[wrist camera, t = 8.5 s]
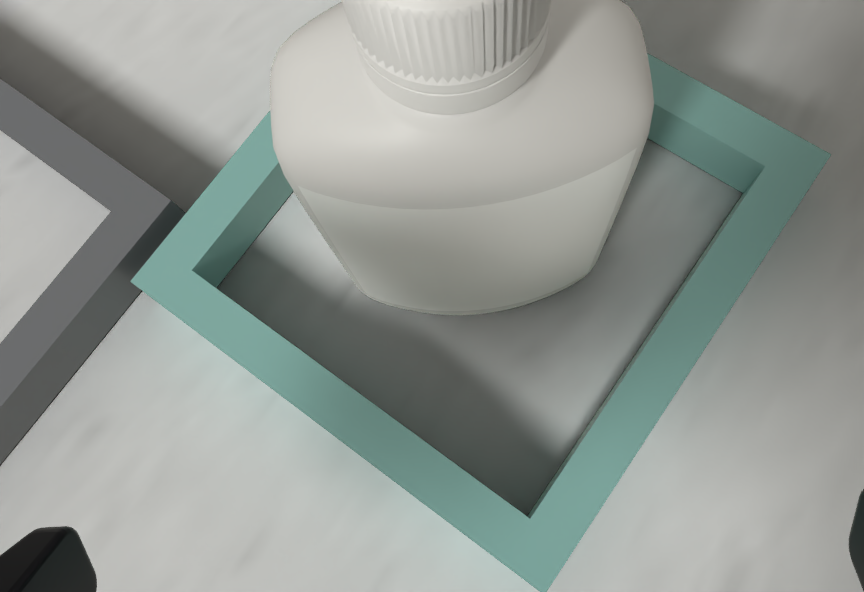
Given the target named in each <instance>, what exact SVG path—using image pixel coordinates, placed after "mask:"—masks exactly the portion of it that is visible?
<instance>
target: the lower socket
mask: <svg viewBox="0 0 864 592" xmlns="http://www.w3.org/2000/svg"><path fill="white" fill-rule="evenodd" d="M647 55H648V61H649V67H650V73H651V79H652V87H653V97H654V108H653V113H652V119H651V125H650V130H649V135H648V137H647V138H648V139H650V140H652V141H654V142H655V143H657V144H659V145H661V146H662V147H664V148H666V149H667V150H669V151H671V152H673V153H674V154H676V155H678V156H680V157H681V158H683V159H685V160H686V161H688V162H690V163H692V164H693V165H695V166H697V167H699V168H700V169H702V170H704V171H705V172H707V173H709V174H711V175H712V176H714V177H716V178H718V179H719V180H721V181H723V182H724V183H726V184H728V185H730V186H731V187H733V188H735V189H737V190H738V191H740V192H742V193H743V194H742V196H741V197H740V199H739V200H738V202H737V203H736V205H735V206H734V208H733V209H732V211H731V212H730V214H729V215H728V217H727V218H726V220H725V221H724V223H723V224H722V226H721V227H720V229H719V230H718V232H717V233H716V235H715V236H714V238H713V239H712V241H711V242H710V244H709V245H708V247H707V248H706V250H705V251H704V253H703V254H702V256H701V257H700V259H699V260H698V262H697V263H696V265H695V266H694V268H693V269H692V271H691V272H690V274H689V275H688V277H687V278H686V280H685V281H684V283H683V284H682V286H681V287H680V289H679V290H678V292H677V293H676V295H675V296H674V298H673V299H672V301H671V302H670V304H669V305H668V307H667V308H666V310H665V311H664V313H663V314H662V316H661V317H660V319H659V320H658V322H657V323H656V325H655V326H654V328H653V329H652V331H651V332H650V334H649V335H648V337H647V338H646V340H645V341H644V343H643V344H642V346H641V347H640V349H639V350H638V352H637V353H636V354H635V356H634V357H633V359H632V360H631V362H630V363H629V365H628V366H627V368H626V369H625V371H624V372H623V374H622V375H621V377H620V378H619V380H618V381H617V383H616V384H615V386H614V387H613V389H612V390H611V392H610V393H609V395H608V396H607V398H606V399H605V401H604V402H603V404H602V405H601V407H600V408H599V410H598V411H597V413H596V414H595V416H594V417H593V419H592V420H591V422H590V423H589V425H588V426H587V428H586V429H585V431H584V432H583V434H582V435H581V437H580V438H579V440H578V441H577V443H576V444H575V446H574V447H573V449H572V450H571V452H570V453H569V455H568V456H567V458H566V459H565V461H564V462H563V464H562V465H561V467H560V468H559V470H558V471H557V473H556V474H555V476H554V477H553V479H552V480H551V482H550V483H549V485H548V486H547V488H546V489H545V491H544V492H543V494H542V495H541V497H540V498H539V500H538V501H537V503H536V504H535V506H534V507H533V509H532V510H531V512H530V513H529V515H528V516H526V515H524V514H523V513H522V512H520V511H519V510H518V509H516V508H515V507H514V506H512V505H511V504H509V503H508V502H507V501H505V500H504V499H503V498H501V497H500V496H499V495H497V494H496V493H495V492H493V491H492V490H490V489H489V488H488V487H486V486H485V485H484V484H482V483H481V482H480V481H478V480H477V479H475V478H474V477H473V476H471V475H470V474H469V473H467V472H466V471H465V470H463V469H462V468H460V467H459V466H458V465H456V464H455V463H454V462H452V461H451V460H450V459H448V458H447V457H445V456H444V455H443V454H441V453H440V452H439V451H437V450H436V449H435V448H433V447H432V446H430V445H429V444H428V443H426V442H425V441H424V440H422V439H421V438H420V437H418V436H417V435H415V434H414V433H413V432H411V431H410V430H409V429H407V428H406V427H405V426H403V425H402V424H401V423H399V422H398V421H396V420H395V419H394V418H392V417H391V416H390V415H388V414H387V413H386V412H384V411H383V410H381V409H380V408H379V407H377V406H376V405H375V404H373V403H372V402H371V401H369V400H368V399H366V398H365V397H364V396H362V395H361V394H360V393H358V392H357V391H356V390H354V389H353V388H351V387H350V386H349V385H347V384H346V383H345V382H343V381H342V380H341V379H339V378H338V377H336V376H335V375H334V374H332V373H331V372H330V371H328V370H327V369H326V368H324V367H323V366H322V365H320V364H319V363H317V362H316V361H315V360H313V359H312V358H311V357H309V356H308V355H307V354H305V353H304V352H302V351H301V350H300V349H298V348H297V347H296V346H294V345H293V344H292V343H290V342H289V341H287V340H286V339H285V338H283V337H282V336H281V335H279V334H278V333H277V332H275V331H274V330H272V329H271V328H270V327H268V326H267V325H266V324H264V323H263V322H262V321H260V320H259V319H257V318H256V317H255V316H253V315H252V314H251V313H249V312H248V311H247V310H245V309H244V308H242V307H241V306H240V305H238V304H237V303H236V302H234V301H233V300H232V299H230V298H229V297H228V296H226V295H225V294H223V293H222V292H221V291H219V290H218V289H217V287H218V285H219V284H220V283H221V282H222V280H223V279H224V278H225V276H226V275H227V274H228V273H229V271H230V270H231V269H232V268H233V266H234V265H235V264H236V263H237V261H238V260H239V259H240V258H241V256H242V255H243V254H244V253H245V251H246V250H247V249H248V247H249V246H250V245H251V244H252V242H253V241H254V240H255V239H256V237H257V236H258V235H259V234H260V232H261V231H262V230H263V229H264V227H265V226H266V225H267V224H268V222H269V221H270V220H271V218H272V217H273V216H274V215H275V213H276V212H277V211H278V210H279V208H280V207H281V206H282V205H283V203H284V202H285V201H286V200H287V198H288V197H289V196H290V195H291V193H292V192H293V189H292V188H291V186H290V184H289V183H288V181H287V179H286V178H285V176H284V174H283V171H282V169H281V166H280V164H279V161H278V159H277V156H276V153H275V151H274V148H273V140H272V130H271V112H270V111H269V112H268V114H267V115H266V116H265V117H264V118H263V120H262V121H261V122H260V123H259V125H258V126H257V127H256V128H255V129H254V131H253V132H252V133H251V134H250V136H249V137H248V138H247V139H246V140H245V142H244V143H243V144H242V145H241V147H240V148H239V149H238V150H237V151H236V153H235V154H234V155H233V156H232V158H231V159H230V160H229V161H228V162H227V164H226V165H225V166H224V167H223V169H222V170H221V171H220V172H219V173H218V175H217V176H216V177H215V178H214V180H213V181H212V182H211V183H210V184H209V186H208V187H207V188H206V189H205V191H204V192H203V193H202V194H201V195H200V197H199V198H198V199H197V200H196V202H195V203H194V204H193V205H192V206H191V208H190V209H189V210H188V211H187V213H186V214H185V215H184V216H183V217H182V219H181V220H180V221H179V222H178V224H177V225H176V226H175V227H174V228H173V230H172V231H171V232H170V233H169V235H168V236H167V237H166V238H165V239H164V241H163V242H162V243H161V244H160V246H159V247H158V248H157V249H156V251H155V252H154V253H153V254H152V255H151V257H150V258H149V259H148V260H147V262H146V263H145V264H144V265H143V266H142V268H141V269H140V270H139V271H138V273H137V274H136V275H135V276H134V277H133V279H132V280H131V281H130V282H131V283H133V284H134V285H135V286H137V287H138V288H139V289H141V290H142V291H143V292H145V293H146V294H147V295H149V296H150V297H151V298H153V299H154V300H155V301H157V302H158V303H159V304H161V305H162V306H163V307H164V308H166V309H167V310H168V311H170V312H171V313H172V314H174V315H175V316H176V317H178V318H179V319H180V320H182V321H183V322H184V323H186V324H187V325H188V326H190V327H191V328H192V329H194V330H195V331H196V332H198V333H199V334H200V335H201V336H203V337H204V338H205V339H207V340H208V341H209V342H211V343H212V344H213V345H215V346H216V347H217V348H219V349H220V350H221V351H223V352H224V353H225V354H227V355H228V356H229V357H231V358H232V359H233V360H235V361H236V362H237V363H238V364H240V365H241V366H242V367H244V368H245V369H246V370H248V371H249V372H250V373H252V374H253V375H254V376H256V377H257V378H258V379H260V380H261V381H262V382H264V383H265V384H266V385H268V386H269V387H270V388H272V389H273V390H274V391H275V392H277V393H278V394H279V395H281V396H282V397H283V398H285V399H286V400H287V401H289V402H290V403H291V404H293V405H294V406H295V407H297V408H298V409H299V410H301V411H302V412H303V413H305V414H306V415H307V416H309V417H310V418H311V419H312V420H314V421H315V422H316V423H318V424H319V425H320V426H322V427H323V428H324V429H326V430H327V431H328V432H330V433H331V434H332V435H334V436H335V437H336V438H338V439H339V440H340V441H342V442H343V443H344V444H346V445H347V446H348V447H349V448H351V449H352V450H353V451H355V452H356V453H357V454H359V455H360V456H361V457H363V458H364V459H365V460H367V461H368V462H369V463H371V464H372V465H373V466H375V467H376V468H377V469H379V470H380V471H381V472H383V473H384V474H385V475H386V476H388V477H389V478H390V479H392V480H393V481H394V482H396V483H397V484H398V485H400V486H401V487H402V488H404V489H405V490H406V491H408V492H409V493H410V494H412V495H413V496H414V497H416V498H417V499H418V500H420V501H421V502H422V503H423V504H425V505H426V506H427V507H429V508H430V509H431V510H433V511H434V512H435V513H437V514H438V515H439V516H441V517H442V518H443V519H445V520H446V521H447V522H449V523H450V524H451V525H453V526H454V527H455V528H457V529H458V530H459V531H460V532H462V533H463V534H464V535H466V536H467V537H468V538H470V539H471V540H472V541H474V542H475V543H476V544H478V545H479V546H480V547H482V548H483V549H484V550H486V551H487V552H488V553H490V554H491V555H492V556H494V557H495V558H496V559H497V560H499V561H500V562H501V563H503V564H504V565H505V566H507V567H508V568H509V569H511V570H512V571H513V572H515V573H516V574H517V575H519V576H520V577H521V578H523V579H524V580H525V581H527V582H528V583H529V584H531V585H532V586H533V587H535V588H536V589H537V590H538V591H540V592H547V590H548V589H549V587H550V586H551V584H552V583H553V581H554V580H555V578H556V576H557V575H558V573H559V572H560V570H561V569H562V567H563V566H564V564H565V563H566V561H567V560H568V558H569V556H570V555H571V553H572V552H573V550H574V549H575V547H576V546H577V544H578V543H579V541H580V540H581V538H582V537H583V535H584V533H585V532H586V530H587V529H588V527H589V526H590V524H591V523H592V521H593V520H594V518H595V517H596V515H597V514H598V512H599V510H600V509H601V507H602V506H603V504H604V503H605V501H606V500H607V498H608V497H609V495H610V494H611V492H612V490H613V489H614V487H615V486H616V484H617V483H618V481H619V480H620V478H621V477H622V475H623V474H624V472H625V471H626V469H627V467H628V466H629V464H630V463H631V461H632V460H633V458H634V457H635V455H636V454H637V452H638V451H639V449H640V447H641V446H642V444H643V443H644V441H645V440H646V438H647V437H648V435H649V434H650V432H651V431H652V429H653V428H654V426H655V424H656V423H657V421H658V420H659V418H660V417H661V415H662V414H663V412H664V411H665V409H666V408H667V406H668V404H669V403H670V401H671V400H672V398H673V397H674V395H675V394H676V392H677V391H678V389H679V388H680V386H681V385H682V383H683V381H684V380H685V378H686V377H687V375H688V374H689V372H690V371H691V369H692V368H693V366H694V365H695V363H696V361H697V360H698V358H699V357H700V355H701V354H702V352H703V351H704V349H705V348H706V346H707V345H708V343H709V342H710V340H711V338H712V337H713V335H714V334H715V332H716V331H717V329H718V328H719V326H720V325H721V323H722V322H723V320H724V318H725V317H726V315H727V314H728V312H729V311H730V309H731V308H732V306H733V305H734V303H735V302H736V300H737V299H738V297H739V295H740V294H741V292H742V291H743V289H744V288H745V286H746V285H747V283H748V282H749V280H750V279H751V277H752V275H753V274H754V272H755V271H756V269H757V268H758V266H759V265H760V263H761V262H762V260H763V259H764V257H765V256H766V254H767V252H768V251H769V249H770V248H771V246H772V245H773V243H774V242H775V240H776V239H777V237H778V236H779V234H780V232H781V231H782V229H783V228H784V226H785V225H786V223H787V222H788V220H789V219H790V217H791V216H792V214H793V213H794V211H795V209H796V208H797V206H798V205H799V203H800V202H801V200H802V199H803V197H804V196H805V194H806V193H807V191H808V190H809V188H810V186H811V185H812V183H813V182H814V180H815V179H816V177H817V176H818V174H819V173H820V171H821V170H822V168H823V166H824V165H825V163H826V162H827V160H828V159H829V157H830V156H831V154H830V153H828V152H826V151H824V150H822V149H820V148H819V147H817V146H815V145H813V144H811V143H810V142H808V141H806V140H804V139H802V138H801V137H799V136H797V135H795V134H793V133H791V132H790V131H788V130H786V129H784V128H782V127H781V126H779V125H777V124H775V123H773V122H771V121H770V120H768V119H766V118H764V117H762V116H761V115H759V114H757V113H755V112H753V111H751V110H750V109H748V108H746V107H744V106H742V105H741V104H739V103H737V102H735V101H733V100H732V99H730V98H728V97H726V96H724V95H722V94H721V93H719V92H717V91H715V90H713V89H712V88H710V87H708V86H706V85H704V84H702V83H701V82H699V81H697V80H695V79H693V78H692V77H690V76H688V75H686V74H684V73H683V72H681V71H679V70H677V69H675V68H673V67H672V66H670V65H668V64H666V63H664V62H663V61H661V60H659V59H657V58H655V57H653V56H652V55H650V54H648V53H647Z"/></svg>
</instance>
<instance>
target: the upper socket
mask: <svg viewBox="0 0 864 592" xmlns="http://www.w3.org/2000/svg"><path fill="white" fill-rule="evenodd" d="M0 130H1V131H3V132H4V133H5V134H7V135H8V136H9V137H11V138H12V139H13V140H15V141H16V142H18V143H19V144H20V145H22V146H23V147H24V148H26V149H27V150H28V151H30V152H31V153H33V154H34V155H35V156H37V157H38V158H39V159H41V160H42V161H43V162H45V163H46V164H48V165H49V166H50V167H52V168H53V169H54V170H56V171H57V172H58V173H60V174H61V175H62V176H64V177H65V178H67V179H68V180H69V181H71V182H72V183H73V184H75V185H76V186H77V187H79V188H80V189H82V190H83V191H84V192H86V193H87V194H88V195H90V196H91V197H92V198H94V199H95V200H97V201H98V202H99V203H101V204H102V205H103V206H105V207H106V208H107V209H109V210H110V211H111V212H110V214H109V215H108V216H107V217H106V218H105V219H104V221H103V222H102V223H101V224H100V225H99V227H98V228H97V229H96V230H95V231H94V233H93V234H92V235H91V236H90V237H89V239H88V240H87V241H86V242H85V243H84V245H83V246H82V247H81V248H80V249H79V250H78V252H77V253H76V254H75V255H74V256H73V258H72V259H71V260H70V261H69V262H68V264H67V265H66V266H65V267H64V268H63V270H62V271H61V272H60V273H59V274H58V276H57V277H56V278H55V279H54V280H53V281H52V283H51V284H50V285H49V286H48V287H47V289H46V290H45V291H44V292H43V293H42V295H41V296H40V297H39V298H38V299H37V301H36V302H35V303H34V304H33V305H32V307H31V308H30V309H29V310H28V311H27V313H26V314H25V315H24V316H23V317H22V318H21V320H20V321H19V322H18V323H17V324H16V326H15V327H14V328H13V329H12V330H11V332H10V333H9V334H8V335H7V336H6V338H5V339H4V340H3V341H2V342H1V344H0V464H1V463H2V462H3V461H4V459H5V458H6V457H7V456H8V455H9V453H10V452H11V451H12V450H13V448H14V447H15V446H16V445H17V443H18V442H19V441H20V440H21V439H22V437H23V436H24V435H25V434H26V432H27V431H28V430H29V429H30V427H31V426H32V425H33V424H34V423H35V421H36V420H37V419H38V418H39V416H40V415H41V414H42V413H43V411H44V410H45V409H46V408H47V407H48V405H49V404H50V403H51V402H52V400H53V399H54V398H55V397H56V395H57V394H58V393H59V392H60V391H61V389H62V388H63V387H64V386H65V384H66V383H67V382H68V381H69V379H70V378H71V377H72V376H73V375H74V373H75V372H76V371H77V370H78V368H79V367H80V366H81V365H82V363H83V362H84V361H85V360H86V359H87V357H88V356H89V355H90V354H91V352H92V351H93V350H94V349H95V347H96V346H97V345H98V344H99V343H100V341H101V340H102V339H103V338H104V336H105V335H106V334H107V333H108V331H109V330H110V329H111V328H112V327H113V325H114V324H115V323H116V322H117V320H118V319H119V318H120V317H121V315H122V314H123V313H124V312H125V311H126V309H127V308H128V307H129V306H130V304H131V303H132V302H133V301H134V299H135V298H136V297H137V296H138V295H139V293H140V292H141V291H142V290H141V289H139V288H138V287H137V286H135V285H134V284H133V283H131V282H130V281H131V280H132V279H133V277H134V276H135V275H136V274H137V273H138V271H139V270H140V269H141V268H142V266H143V265H144V264H145V263H146V262H147V260H148V259H149V258H150V257H151V255H152V254H153V253H154V252H155V251H156V249H157V248H158V247H159V246H160V244H161V243H162V242H163V241H164V239H165V238H166V237H167V236H168V235H169V233H170V232H171V231H172V230H173V228H174V227H175V226H176V225H177V224H178V222H179V221H180V220H181V219H182V217H183V216H184V215H185V214H186V213H185V212H184V211H182V210H181V209H180V208H179V207H178V206H177V205H176V204H175V203H174V202H172V201H171V200H170V199H169V198H167V197H166V196H164V195H163V194H162V193H160V192H159V191H157V190H156V189H155V188H153V187H152V186H150V185H149V184H148V183H146V182H145V181H143V180H142V179H141V178H139V177H138V176H136V175H135V174H134V173H132V172H131V171H129V170H128V169H126V168H125V167H124V166H122V165H121V164H119V163H118V162H117V161H115V160H114V159H112V158H111V157H110V156H108V155H107V154H105V153H104V152H103V151H101V150H100V149H98V148H97V147H96V146H94V145H93V144H91V143H90V142H89V141H87V140H86V139H84V138H83V137H82V136H80V135H79V134H77V133H76V132H75V131H73V130H72V129H70V128H69V127H68V126H66V125H65V124H63V123H62V122H61V121H59V120H58V119H56V118H55V117H54V116H52V115H51V114H49V113H48V112H46V111H45V110H44V109H42V108H41V107H39V106H38V105H37V104H35V103H34V102H32V101H31V100H30V99H28V98H27V97H25V96H24V95H23V94H21V93H20V92H18V91H17V90H16V89H14V88H13V87H11V86H10V85H9V84H7V83H6V82H4V81H3V80H2V79H0Z"/></svg>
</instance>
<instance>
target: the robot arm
mask: <svg viewBox="0 0 864 592" xmlns="http://www.w3.org/2000/svg"><path fill="white" fill-rule="evenodd" d="M849 551H850V556H851V559H852V562H853V565H854V568H855V570H856V573H857V575H858V578H859V581H860V583H861V586H862V588H863V591H864V489H863V491H862V492H861V494H860V497H859V500H858V504H857V508H856V512H855V516H854V520H853V524H852V528H851V532H850V536H849ZM96 588H97V579H96V574H95V571H94V568H93V566H92V564H91V562H90V559H89V557H88V555H87V553H86V550H85V548H84V546H83V544H82V541H81V539H80V537H79V535H78V533H77V531H75V530H74V529H73V528H72V527H67V526H65V527H46V528H39V529H36V530H34V531H32V532H31V533H29V534H28V535H26V536H25V537H24V538H23V539H21V540H20V541H19V542H17V543H16V544H15V545H13V546H12V547H11V548H10V549H8V550H7V551H6V552H4V553H3V554H2V555H0V592H96Z"/></svg>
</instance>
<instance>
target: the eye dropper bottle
mask: <svg viewBox="0 0 864 592" xmlns="http://www.w3.org/2000/svg"><path fill="white" fill-rule="evenodd" d="M653 108H654V97H653V87H652V79H651V73H650V67H649V61H648V55H647V50H646V45H645V40H644V37H643V33H642V29H641V26H640V23H639V21H638V20H637V18H636V16H635V15H634V13H633V11H632V10H631V8H630V7H629V6H628V5H626V4H625V3H623V2H622V1H620V0H342V2H340V3H339V4H337V5H335V6H333V7H331V8H330V9H328V10H327V11H325V12H323V13H322V14H320V15H319V16H317V17H315V18H314V19H312V20H310V21H309V22H308V23H306V24H305V25H304V26H302V27H301V28H299V29H298V30H297V31H295V32H294V33H293V34H292V35H291V36H290V37H289V38H288V39H287V40H286V41H285V42H284V43H283V44H282V45H281V47H280V48H279V49H278V51H277V52H276V55H275V58H274V61H273V64H272V67H271V76H270V112H271V130H272V140H273V148H274V151H275V153H276V156H277V159H278V161H279V164H280V166H281V169H282V171H283V174H284V176H285V178H286V179H287V181H288V183H289V184H290V186H291V188H292V189H293V191H294V193H295V194H296V196H297V198H298V199H299V201H300V203H301V204H302V206H303V207H304V209H305V210H306V212H307V213H308V215H309V216H310V218H311V219H312V221H313V222H314V224H315V225H316V227H317V228H318V230H319V231H320V233H321V234H322V236H323V237H324V239H325V241H326V242H327V244H328V245H329V247H330V248H331V249H332V251H333V252H334V254H335V255H336V257H337V258H338V260H339V261H340V263H341V264H342V266H343V267H344V269H345V270H346V272H347V273H348V275H349V276H350V278H351V279H352V280H353V282H354V283H355V285H356V286H357V288H358V289H359V290H360V291H361V292H363V293H364V294H365V295H366V296H368V297H369V298H371V299H373V300H376V301H378V302H381V303H383V304H386V305H390V306H393V307H397V308H401V309H406V310H410V311H416V312H422V313H429V314H439V315H475V314H485V313H492V312H498V311H503V310H508V309H512V308H516V307H519V306H523V305H526V304H529V303H532V302H535V301H538V300H540V299H543V298H546V297H548V296H550V295H553V294H555V293H557V292H559V291H561V290H563V289H565V288H567V287H569V286H571V285H573V284H574V283H576V282H577V281H579V280H581V279H582V278H584V277H585V276H586V275H587V274H588V273H589V272H590V271H591V269H592V268H593V267H594V266H595V264H596V262H597V260H598V258H599V255H600V253H601V251H602V248H603V246H604V244H605V241H606V239H607V237H608V234H609V232H610V230H611V227H612V225H613V223H614V220H615V218H616V216H617V213H618V211H619V208H620V206H621V204H622V201H623V199H624V196H625V194H626V192H627V189H628V187H629V184H630V182H631V180H632V177H633V175H634V172H635V170H636V167H637V165H638V162H639V159H640V157H641V154H642V151H643V148H644V146H645V143H646V140H647V137H648V135H649V130H650V125H651V119H652V113H653Z"/></svg>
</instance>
